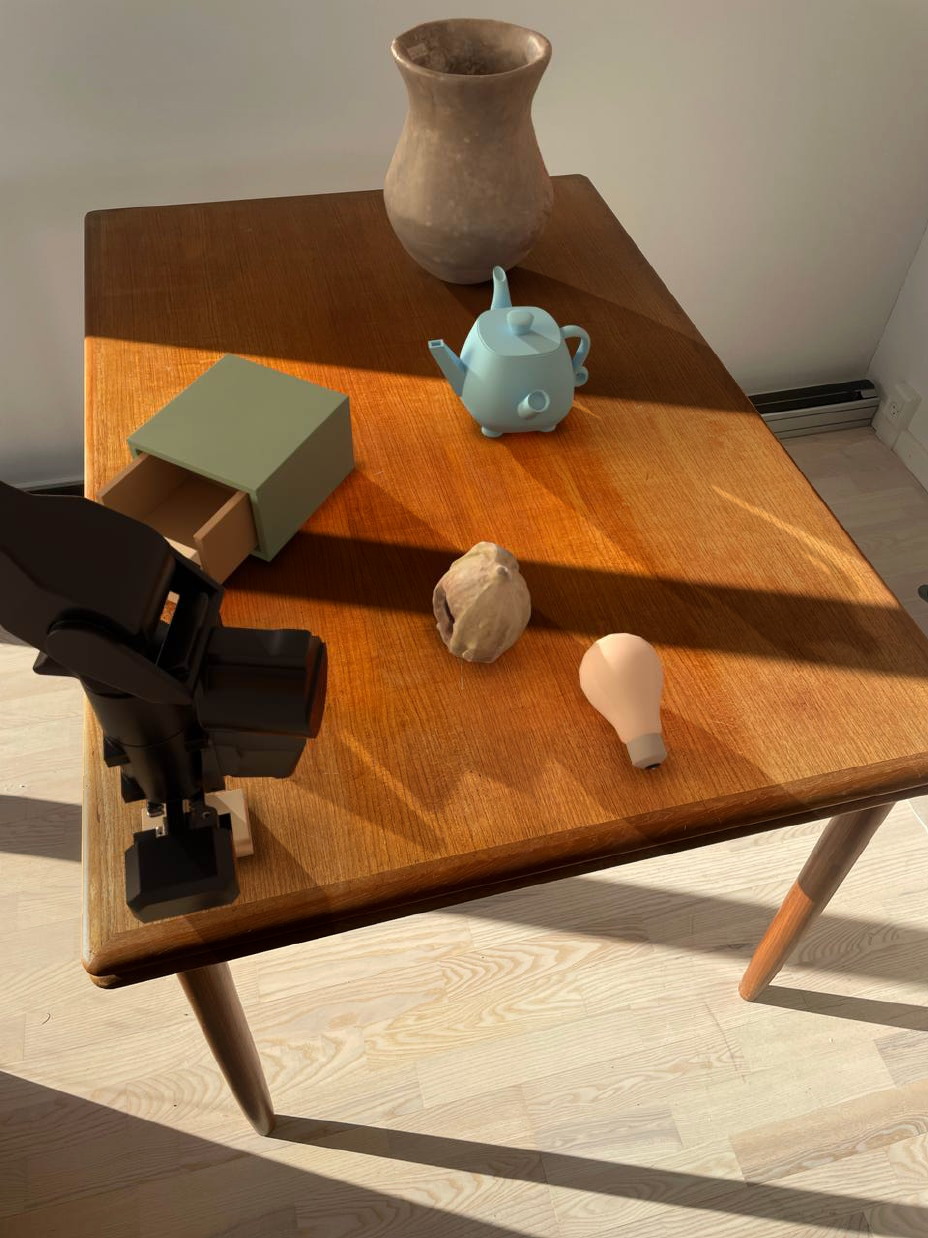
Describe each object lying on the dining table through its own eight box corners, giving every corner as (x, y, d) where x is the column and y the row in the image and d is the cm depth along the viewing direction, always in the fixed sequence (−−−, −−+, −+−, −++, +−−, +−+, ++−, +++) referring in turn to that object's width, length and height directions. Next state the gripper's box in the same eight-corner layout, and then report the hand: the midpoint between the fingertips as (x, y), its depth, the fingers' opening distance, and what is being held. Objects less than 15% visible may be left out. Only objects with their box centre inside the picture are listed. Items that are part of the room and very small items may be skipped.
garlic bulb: (467, 616, 86) (474, 513, 81) (550, 648, 82) (563, 541, 77) (403, 660, 79) (407, 549, 74) (490, 697, 75) (500, 583, 70)
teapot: (412, 413, 100) (411, 317, 92) (491, 354, 108) (497, 260, 99) (532, 477, 95) (543, 380, 86) (608, 409, 102) (624, 314, 93)
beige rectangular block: (247, 805, 71) (242, 787, 69) (254, 854, 68) (249, 837, 66) (149, 826, 69) (141, 808, 67) (152, 876, 67) (144, 860, 65)
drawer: (171, 651, 78) (152, 596, 73) (53, 597, 82) (28, 540, 77) (294, 518, 89) (286, 460, 84) (185, 474, 92) (170, 416, 87)
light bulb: (701, 746, 69) (651, 610, 73) (613, 771, 69) (568, 633, 73) (690, 767, 75) (645, 640, 79) (609, 790, 75) (568, 661, 79)
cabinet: (269, 562, 86) (256, 490, 80) (148, 511, 90) (125, 438, 84) (355, 467, 95) (349, 395, 88) (240, 424, 99) (227, 352, 92)
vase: (372, 303, 113) (361, 74, 94) (400, 223, 126) (395, 6, 107) (540, 319, 112) (563, 91, 93) (551, 237, 125) (573, 20, 105)
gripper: (312, 815, 52) (334, 931, 64) (268, 567, 63) (293, 705, 75) (96, 861, 50) (161, 972, 62) (91, 596, 61) (146, 733, 73)
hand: (198, 833), depth 68 cm, fingers open, 5 cm apart
